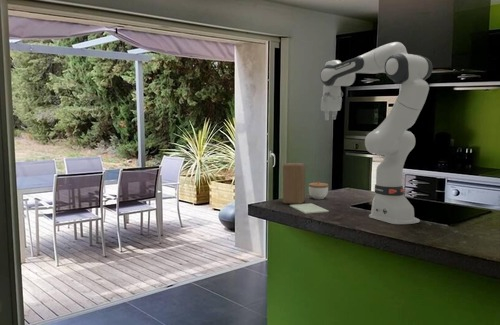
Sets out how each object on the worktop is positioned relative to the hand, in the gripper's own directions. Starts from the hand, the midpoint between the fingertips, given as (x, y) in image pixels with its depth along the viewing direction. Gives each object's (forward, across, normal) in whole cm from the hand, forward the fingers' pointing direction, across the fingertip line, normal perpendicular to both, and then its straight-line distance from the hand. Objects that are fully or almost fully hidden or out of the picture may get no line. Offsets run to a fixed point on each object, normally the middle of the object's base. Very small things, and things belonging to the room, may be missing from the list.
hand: (330, 119), depth 235 cm
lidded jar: (+43, +4, +6) cm, 44 cm away
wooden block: (+42, -15, +12) cm, 47 cm away
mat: (+42, -24, 0) cm, 49 cm away
